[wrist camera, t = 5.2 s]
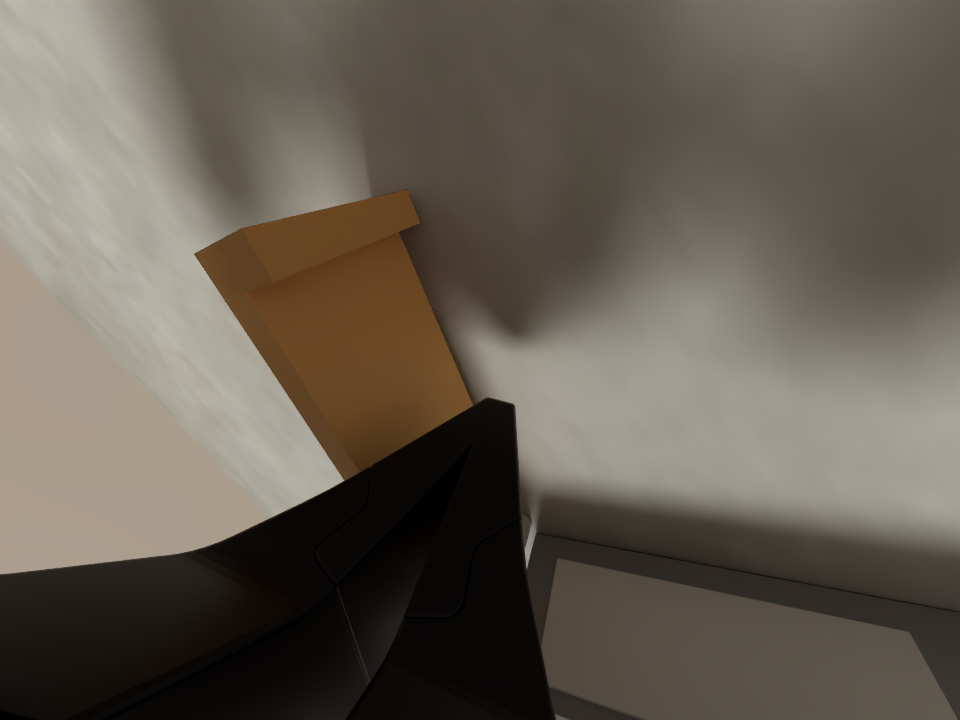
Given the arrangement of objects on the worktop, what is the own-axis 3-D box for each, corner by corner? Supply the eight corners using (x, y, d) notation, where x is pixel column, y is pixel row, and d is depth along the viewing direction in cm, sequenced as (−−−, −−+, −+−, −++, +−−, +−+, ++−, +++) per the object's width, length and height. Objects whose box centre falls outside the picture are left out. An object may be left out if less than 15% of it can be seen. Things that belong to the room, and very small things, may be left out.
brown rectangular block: (534, 507, 13) (495, 654, 9) (502, 506, 14) (453, 643, 10) (406, 189, 9) (242, 228, 5) (367, 207, 9) (194, 253, 6)
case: (1151, 617, 8) (1674, 1103, 4) (982, 762, 12) (1158, 1078, 8) (504, 509, 14) (451, 659, 10) (534, 629, 18) (505, 771, 14)
